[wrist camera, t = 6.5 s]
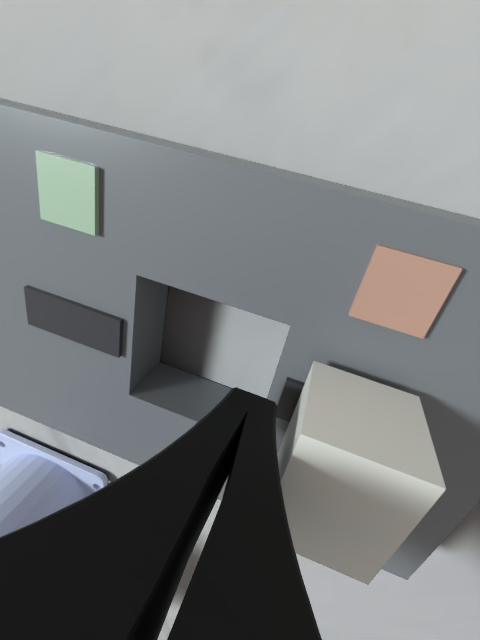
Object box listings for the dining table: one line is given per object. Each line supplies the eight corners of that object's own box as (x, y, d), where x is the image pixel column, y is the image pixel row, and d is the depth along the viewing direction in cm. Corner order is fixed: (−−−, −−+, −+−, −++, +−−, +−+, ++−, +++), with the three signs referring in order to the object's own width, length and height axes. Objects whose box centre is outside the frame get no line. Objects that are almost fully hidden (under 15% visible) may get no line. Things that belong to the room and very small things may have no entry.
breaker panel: (399, 520, 15) (408, 585, 13) (3, 361, 19) (-46, 390, 16) (604, 250, 9) (692, 281, 7) (-43, 87, 13) (-132, 71, 10)
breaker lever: (364, 486, 11) (368, 584, 9) (277, 452, 12) (257, 536, 9) (419, 396, 9) (446, 489, 7) (313, 360, 10) (300, 433, 7)
